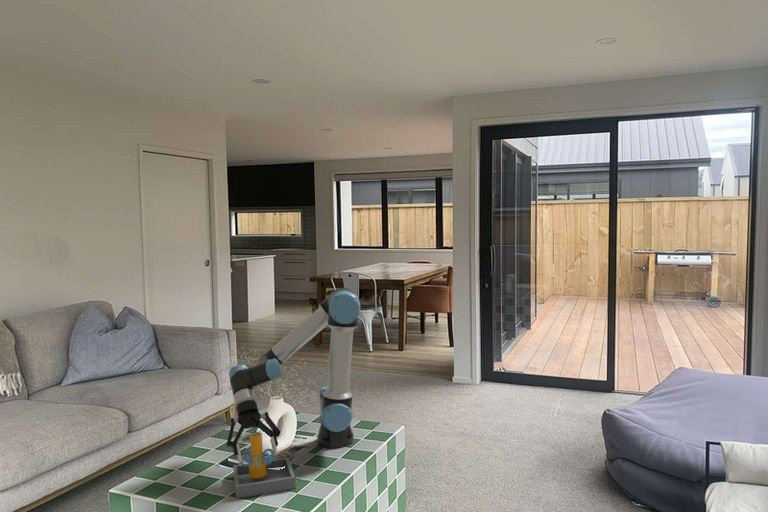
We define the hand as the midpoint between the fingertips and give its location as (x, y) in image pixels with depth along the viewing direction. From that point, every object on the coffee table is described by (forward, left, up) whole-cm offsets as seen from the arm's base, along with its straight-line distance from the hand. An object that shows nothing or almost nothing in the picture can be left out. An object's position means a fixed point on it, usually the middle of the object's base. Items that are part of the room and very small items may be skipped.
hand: (258, 459), depth 205 cm
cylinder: (0, -3, -7) cm, 8 cm away
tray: (-2, -2, -9) cm, 10 cm away
